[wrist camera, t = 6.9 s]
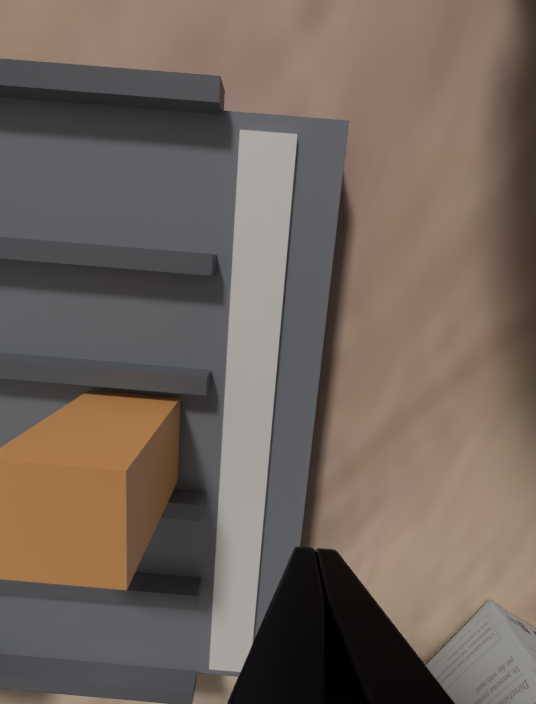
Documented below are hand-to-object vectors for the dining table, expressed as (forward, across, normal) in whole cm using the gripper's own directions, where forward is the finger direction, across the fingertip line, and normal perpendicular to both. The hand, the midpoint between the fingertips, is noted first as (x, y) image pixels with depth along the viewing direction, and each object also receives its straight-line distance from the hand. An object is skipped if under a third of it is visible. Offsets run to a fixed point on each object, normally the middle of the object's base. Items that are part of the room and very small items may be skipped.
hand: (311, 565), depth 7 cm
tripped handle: (+5, +6, 0) cm, 7 cm away
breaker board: (+7, +10, 0) cm, 12 cm away
